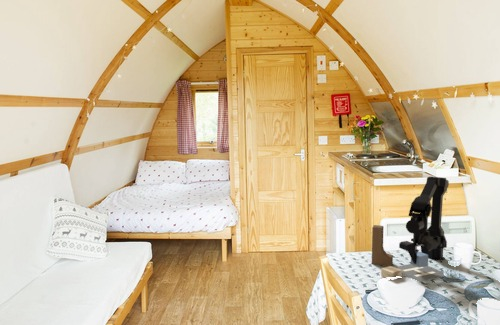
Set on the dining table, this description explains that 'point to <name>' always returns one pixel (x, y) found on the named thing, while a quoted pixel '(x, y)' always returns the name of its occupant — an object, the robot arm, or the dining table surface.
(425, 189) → the robot arm
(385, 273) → the birch block
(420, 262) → the blue cube
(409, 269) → the letter board
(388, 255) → the wooden block
